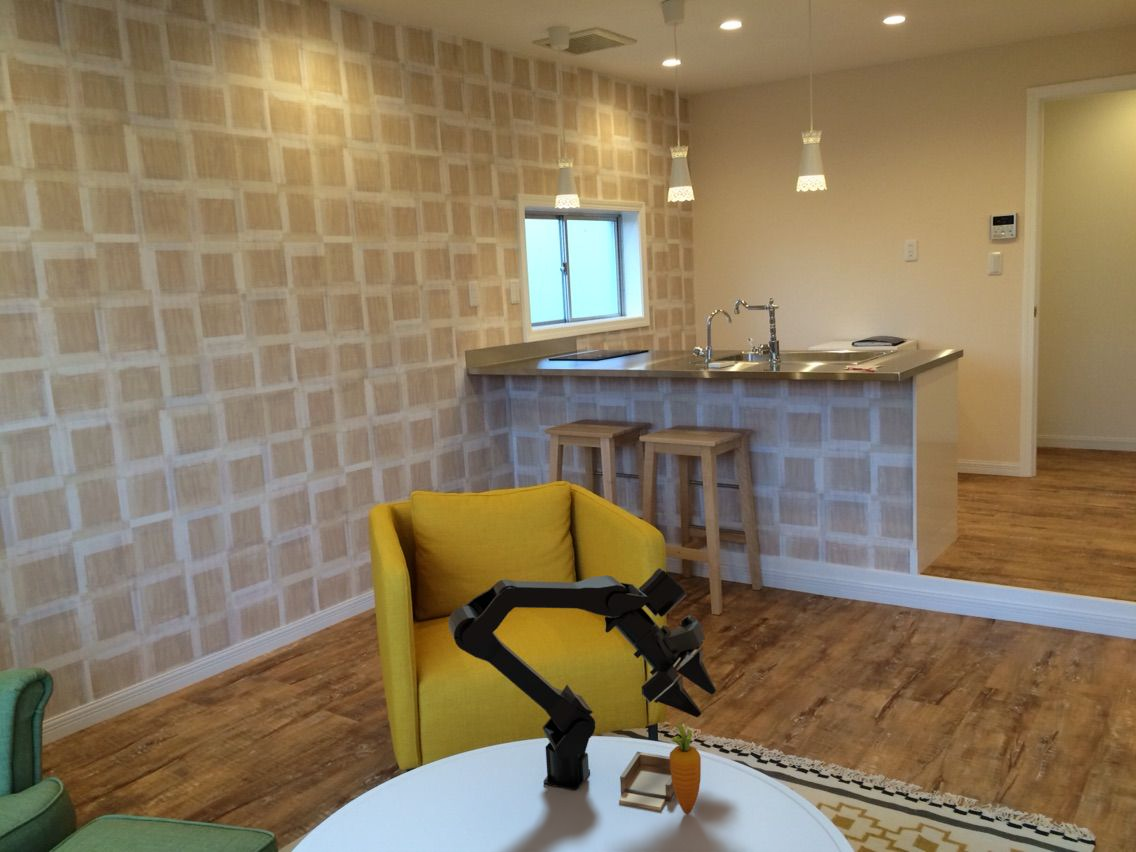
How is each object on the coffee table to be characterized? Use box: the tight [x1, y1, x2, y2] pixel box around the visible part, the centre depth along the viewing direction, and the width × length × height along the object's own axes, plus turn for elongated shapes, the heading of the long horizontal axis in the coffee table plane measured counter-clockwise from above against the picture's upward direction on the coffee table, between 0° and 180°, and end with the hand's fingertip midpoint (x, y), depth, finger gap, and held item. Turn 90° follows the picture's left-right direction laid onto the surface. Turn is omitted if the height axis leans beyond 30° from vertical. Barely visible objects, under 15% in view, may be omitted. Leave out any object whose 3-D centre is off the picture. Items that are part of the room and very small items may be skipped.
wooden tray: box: [618, 751, 675, 812], centre depth 158 cm, size 9×12×3 cm
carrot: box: [669, 723, 702, 816], centre depth 149 cm, size 5×5×15 cm
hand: (707, 703), depth 159 cm, fingers open, 9 cm apart
